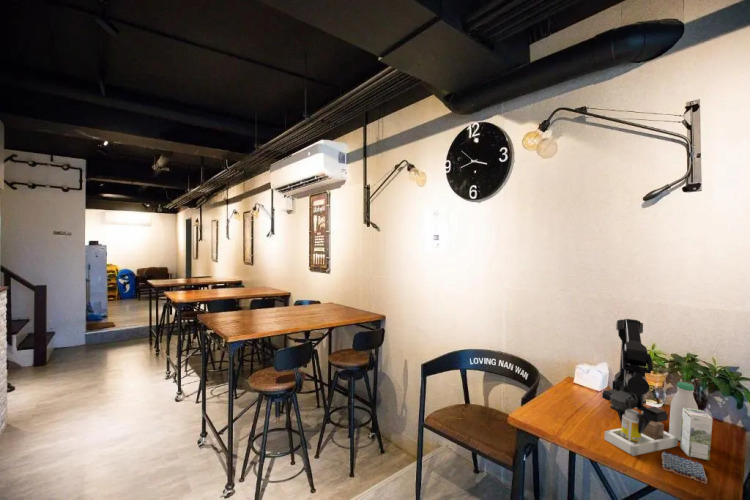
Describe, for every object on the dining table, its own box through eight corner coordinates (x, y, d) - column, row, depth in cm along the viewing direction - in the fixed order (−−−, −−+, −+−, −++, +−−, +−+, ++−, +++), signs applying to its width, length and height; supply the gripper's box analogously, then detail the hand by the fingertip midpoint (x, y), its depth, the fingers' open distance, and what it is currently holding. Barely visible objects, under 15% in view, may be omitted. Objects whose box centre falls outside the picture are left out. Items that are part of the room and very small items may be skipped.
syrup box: (700, 451, 119) (702, 409, 119) (710, 461, 113) (712, 417, 113) (679, 447, 121) (682, 406, 120) (688, 457, 115) (691, 414, 115)
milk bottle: (690, 446, 122) (694, 389, 122) (664, 435, 129) (667, 381, 128) (700, 441, 125) (704, 386, 125) (674, 430, 132) (677, 378, 132)
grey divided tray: (647, 431, 131) (647, 423, 131) (677, 446, 122) (677, 437, 122) (604, 439, 124) (604, 431, 124) (633, 456, 115) (633, 446, 114)
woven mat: (661, 471, 108) (662, 464, 108) (660, 455, 116) (661, 449, 116) (708, 486, 102) (708, 480, 102) (703, 469, 110) (703, 462, 110)
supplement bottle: (642, 441, 121) (644, 412, 121) (637, 446, 117) (639, 417, 117) (623, 433, 125) (625, 405, 125) (618, 439, 122) (620, 410, 121)
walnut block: (647, 436, 128) (648, 417, 127) (662, 443, 123) (663, 424, 123) (638, 438, 126) (639, 418, 126) (653, 445, 121) (654, 425, 121)
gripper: (592, 376, 127) (589, 418, 127) (646, 398, 109) (643, 447, 110) (614, 373, 131) (611, 414, 131) (670, 394, 113) (667, 442, 113)
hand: (631, 428), depth 121 cm, fingers closed on supplement bottle, 5 cm apart
